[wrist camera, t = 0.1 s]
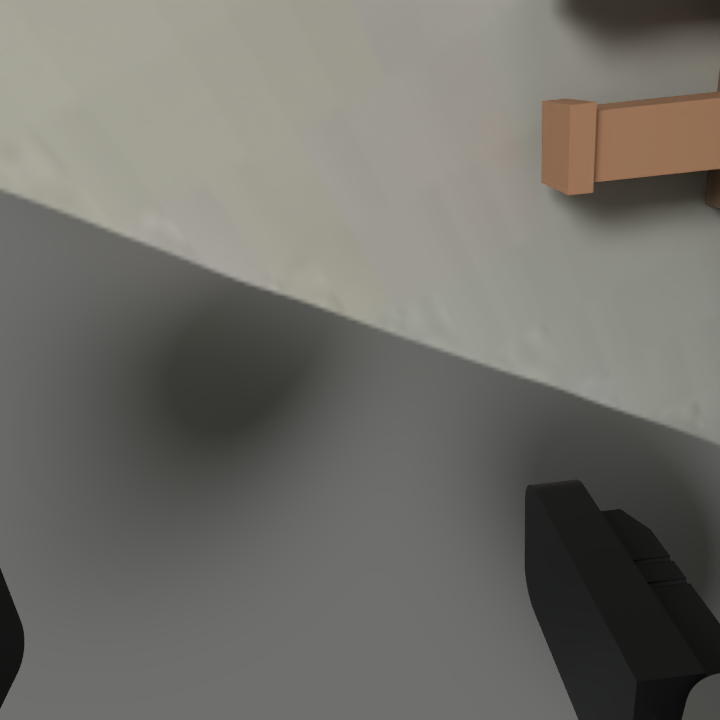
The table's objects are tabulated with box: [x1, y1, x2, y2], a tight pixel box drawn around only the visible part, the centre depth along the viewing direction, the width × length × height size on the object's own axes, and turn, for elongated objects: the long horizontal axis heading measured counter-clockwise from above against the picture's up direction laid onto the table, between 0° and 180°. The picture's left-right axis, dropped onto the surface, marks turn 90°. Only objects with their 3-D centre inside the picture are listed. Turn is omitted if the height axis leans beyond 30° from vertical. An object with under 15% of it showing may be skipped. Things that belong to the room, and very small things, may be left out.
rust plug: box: [541, 92, 720, 195], centre depth 33 cm, size 4×13×4 cm, turn 96°
